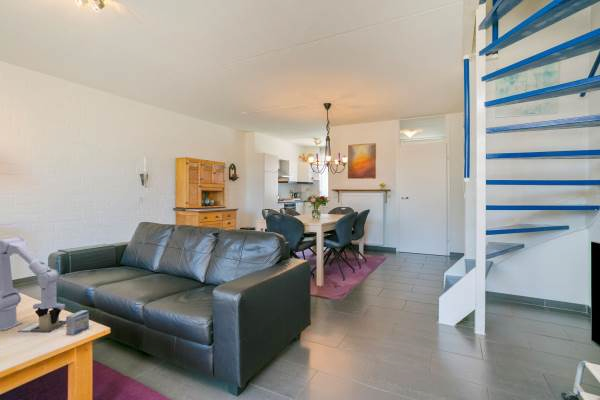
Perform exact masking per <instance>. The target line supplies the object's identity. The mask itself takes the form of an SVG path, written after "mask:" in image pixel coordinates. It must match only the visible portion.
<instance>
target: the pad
mask: <svg viewBox="0 0 600 400" xmlns="http://www.w3.org/2000/svg"><path fill="white" fill-rule="evenodd" d="M37 326H39V321H36V322H34V323H32V324H30V325H27V326H25V327H23V328H21V329H19V330H17V332H18V333H32V332H31V329H33V328H35V327H37Z"/></svg>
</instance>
